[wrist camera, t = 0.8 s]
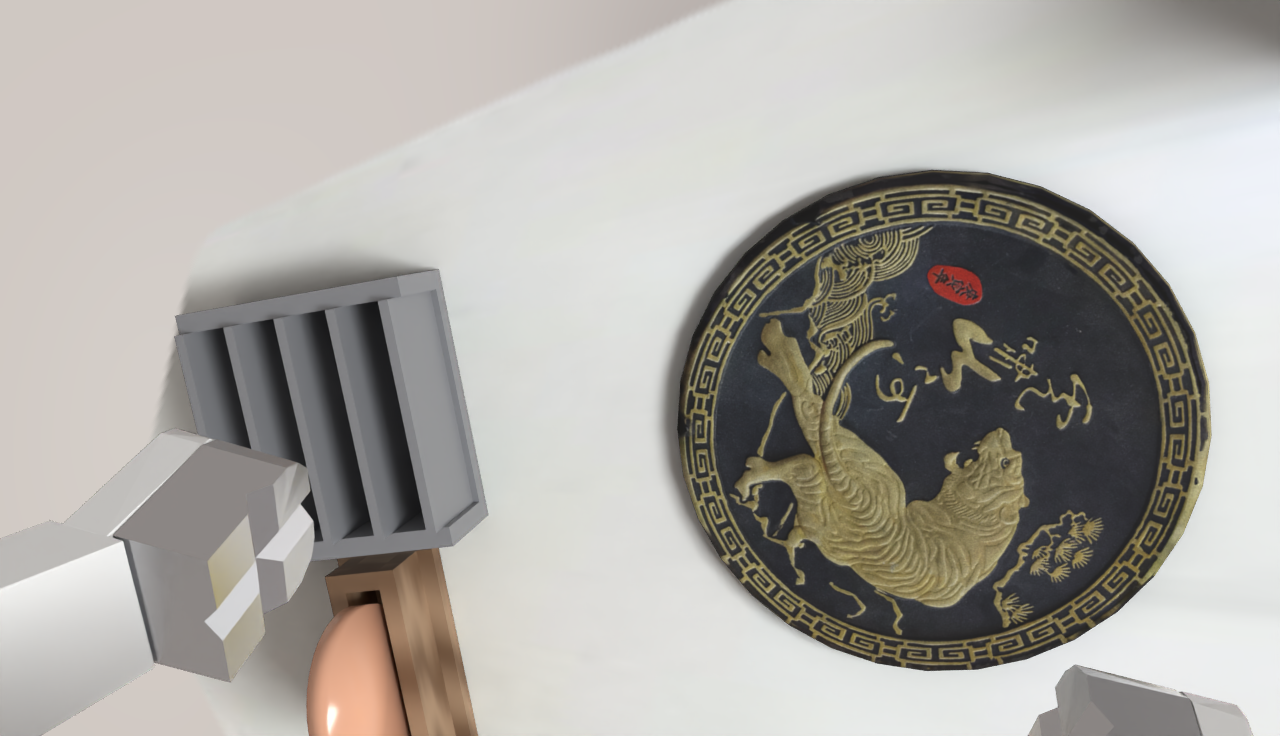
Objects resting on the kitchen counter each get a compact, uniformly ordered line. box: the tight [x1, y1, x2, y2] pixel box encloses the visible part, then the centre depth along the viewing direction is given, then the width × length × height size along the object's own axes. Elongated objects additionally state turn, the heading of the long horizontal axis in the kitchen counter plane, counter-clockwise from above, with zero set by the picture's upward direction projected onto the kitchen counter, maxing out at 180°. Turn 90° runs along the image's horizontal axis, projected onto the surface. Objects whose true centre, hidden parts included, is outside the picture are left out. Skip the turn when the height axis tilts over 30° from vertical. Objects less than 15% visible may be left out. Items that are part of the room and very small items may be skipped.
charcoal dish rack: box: [174, 269, 488, 561], centre depth 61 cm, size 16×15×7 cm
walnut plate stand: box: [325, 548, 478, 736], centre depth 64 cm, size 14×7×4 cm, turn 10°
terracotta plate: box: [307, 604, 412, 736], centre depth 60 cm, size 11×1×11 cm, turn 10°
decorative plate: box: [677, 170, 1211, 671], centre depth 56 cm, size 30×2×30 cm
